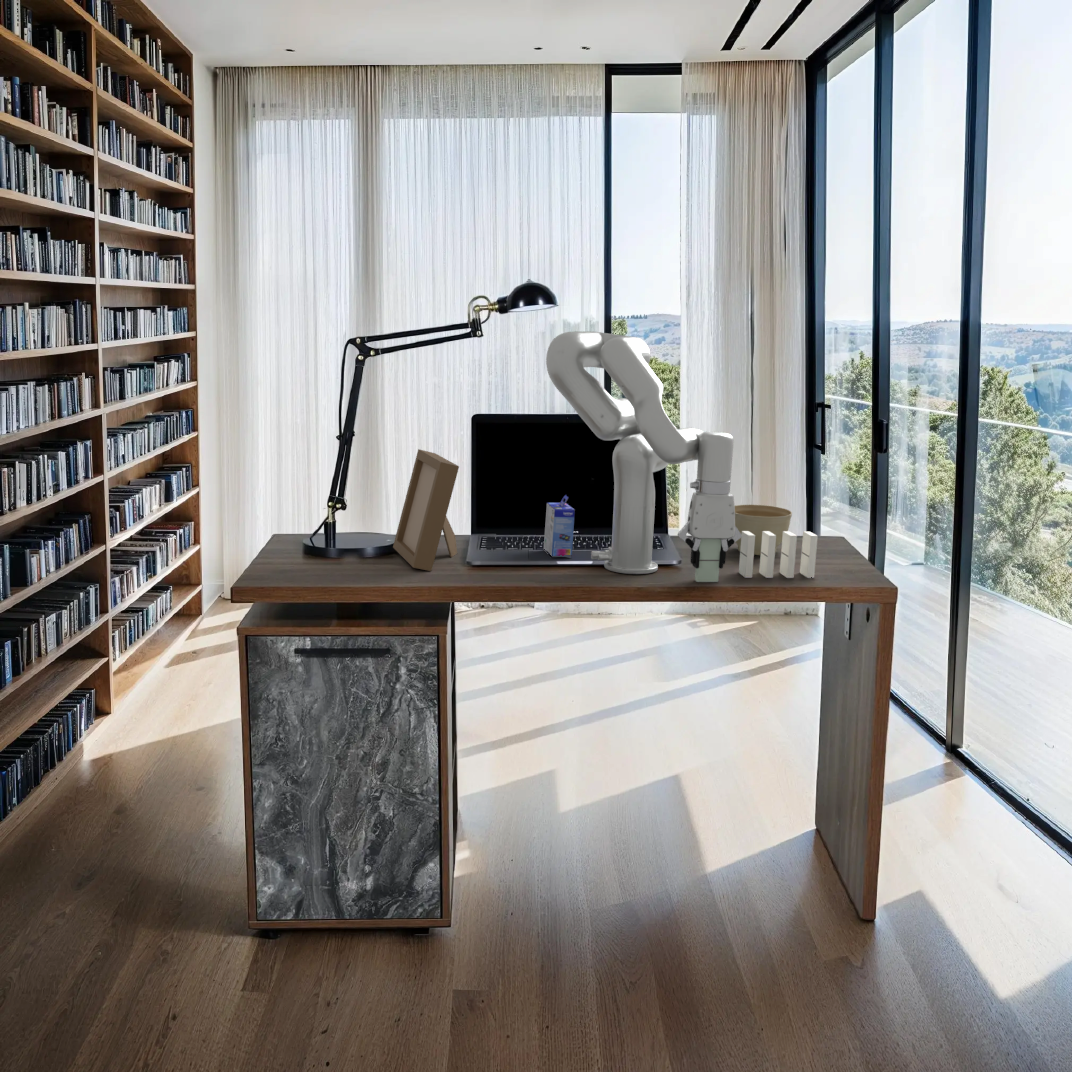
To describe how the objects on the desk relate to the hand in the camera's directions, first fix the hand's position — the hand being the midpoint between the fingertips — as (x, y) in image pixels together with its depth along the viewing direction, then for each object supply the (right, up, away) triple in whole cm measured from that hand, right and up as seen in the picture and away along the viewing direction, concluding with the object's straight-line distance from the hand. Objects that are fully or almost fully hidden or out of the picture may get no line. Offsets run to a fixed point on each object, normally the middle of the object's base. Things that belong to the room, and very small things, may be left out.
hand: (707, 566), depth 257 cm
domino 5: (+25, -2, +10) cm, 27 cm away
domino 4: (+20, -2, +9) cm, 22 cm away
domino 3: (+15, -2, +9) cm, 18 cm away
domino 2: (+10, -2, +8) cm, 13 cm away
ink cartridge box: (-33, +2, +23) cm, 40 cm away
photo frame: (-63, +1, +12) cm, 64 cm away
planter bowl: (+18, +3, +34) cm, 38 cm away
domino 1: (0, -3, +1) cm, 4 cm away
